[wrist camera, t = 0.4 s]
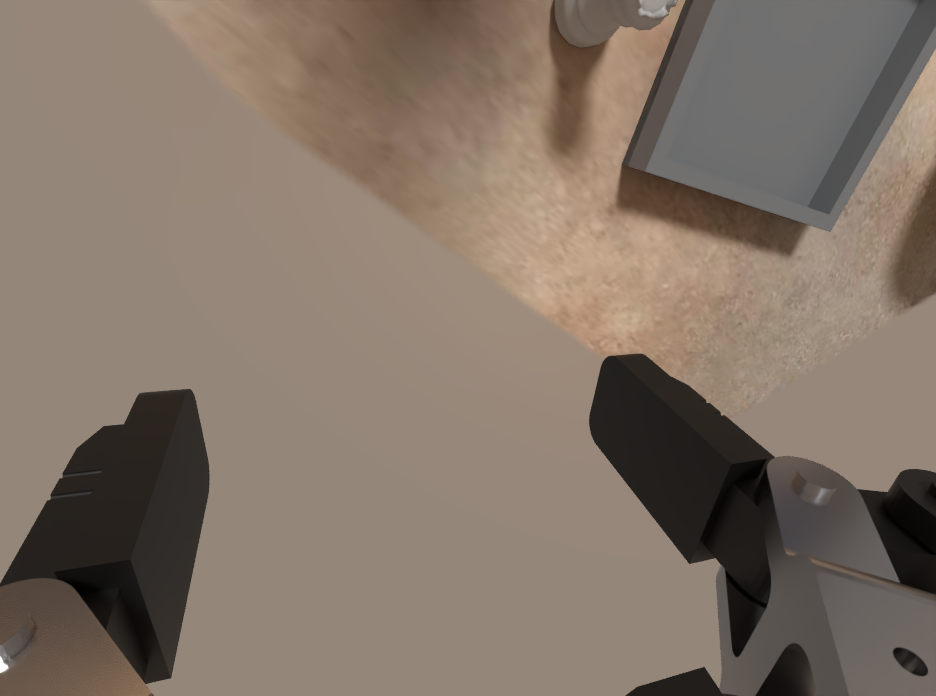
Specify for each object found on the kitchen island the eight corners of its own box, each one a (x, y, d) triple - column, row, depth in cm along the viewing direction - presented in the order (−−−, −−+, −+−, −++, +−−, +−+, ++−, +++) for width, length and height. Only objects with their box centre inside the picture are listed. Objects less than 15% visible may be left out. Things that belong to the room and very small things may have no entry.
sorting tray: (755, -178, 30) (796, -200, 28) (943, -39, 38) (990, -47, 35) (622, 164, 38) (645, 171, 35) (800, 222, 46) (830, 231, 43)
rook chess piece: (618, 36, 34) (698, 28, 27) (557, 57, 33) (623, 54, 26) (610, -46, 31) (696, -77, 25) (544, -25, 31) (614, -51, 24)
